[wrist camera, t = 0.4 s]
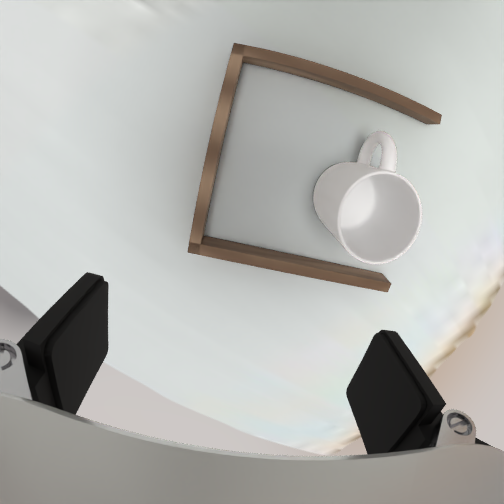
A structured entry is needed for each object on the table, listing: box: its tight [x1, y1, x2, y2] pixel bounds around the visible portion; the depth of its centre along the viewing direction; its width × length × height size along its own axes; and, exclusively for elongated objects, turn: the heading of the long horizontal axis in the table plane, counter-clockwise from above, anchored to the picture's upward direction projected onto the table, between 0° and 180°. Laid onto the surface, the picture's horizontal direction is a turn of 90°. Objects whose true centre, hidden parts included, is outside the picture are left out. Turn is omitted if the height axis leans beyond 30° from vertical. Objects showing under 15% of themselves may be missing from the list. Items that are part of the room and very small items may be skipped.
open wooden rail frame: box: [188, 43, 442, 292], centre depth 32 cm, size 22×24×3 cm
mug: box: [313, 131, 422, 264], centre depth 29 cm, size 12×8×10 cm
